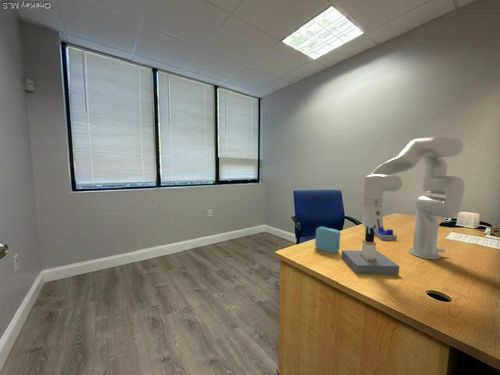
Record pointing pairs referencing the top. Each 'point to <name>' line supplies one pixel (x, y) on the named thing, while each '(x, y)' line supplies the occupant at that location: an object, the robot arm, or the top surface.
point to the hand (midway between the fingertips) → (369, 241)
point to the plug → (368, 250)
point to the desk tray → (385, 236)
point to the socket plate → (370, 263)
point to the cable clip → (382, 232)
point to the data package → (327, 239)
